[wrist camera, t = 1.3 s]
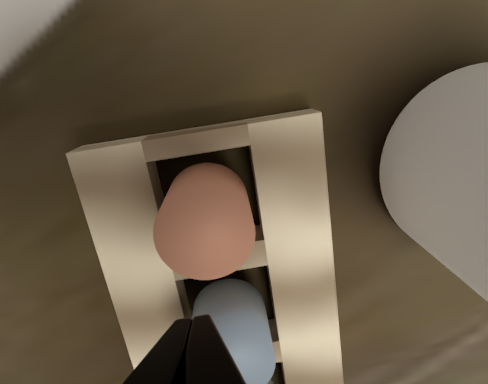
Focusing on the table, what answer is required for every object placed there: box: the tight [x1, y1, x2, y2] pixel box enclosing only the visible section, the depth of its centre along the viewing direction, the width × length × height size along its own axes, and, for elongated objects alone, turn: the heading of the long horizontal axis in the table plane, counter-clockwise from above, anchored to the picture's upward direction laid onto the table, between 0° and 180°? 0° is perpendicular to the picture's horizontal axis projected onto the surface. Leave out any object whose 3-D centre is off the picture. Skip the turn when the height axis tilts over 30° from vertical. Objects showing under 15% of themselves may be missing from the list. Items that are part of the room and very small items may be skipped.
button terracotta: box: [153, 162, 256, 280], centre depth 16 cm, size 4×4×4 cm
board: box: [66, 109, 343, 384], centre depth 20 cm, size 20×12×2 cm, turn 9°
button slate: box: [192, 279, 276, 384], centre depth 18 cm, size 4×4×4 cm
